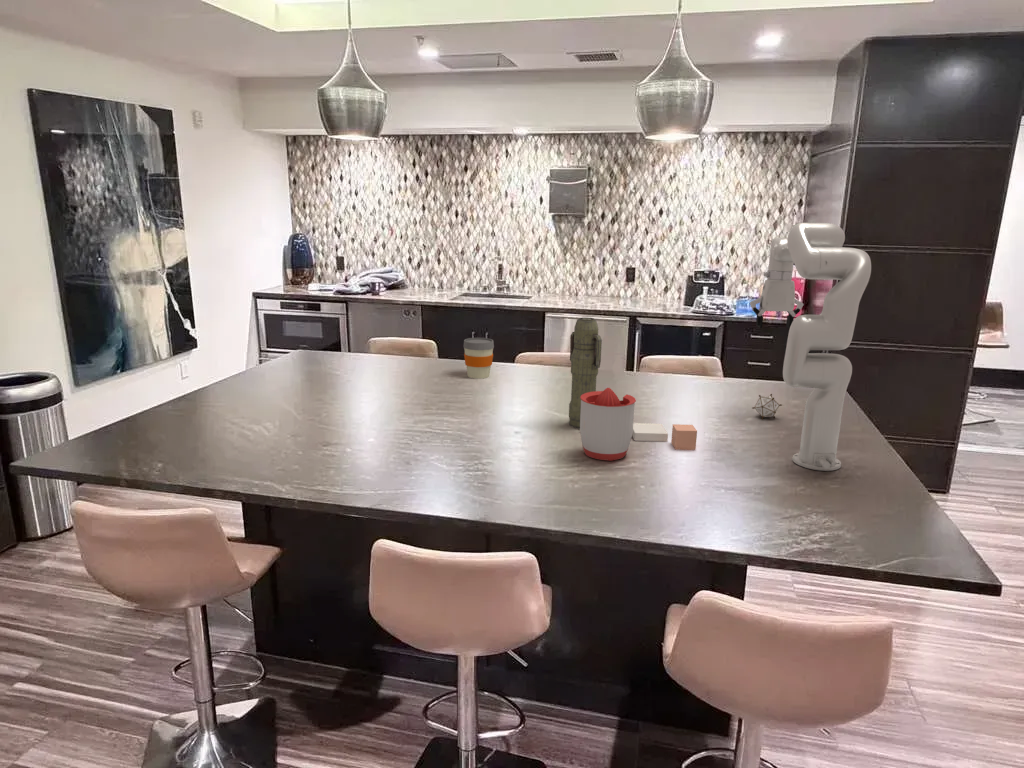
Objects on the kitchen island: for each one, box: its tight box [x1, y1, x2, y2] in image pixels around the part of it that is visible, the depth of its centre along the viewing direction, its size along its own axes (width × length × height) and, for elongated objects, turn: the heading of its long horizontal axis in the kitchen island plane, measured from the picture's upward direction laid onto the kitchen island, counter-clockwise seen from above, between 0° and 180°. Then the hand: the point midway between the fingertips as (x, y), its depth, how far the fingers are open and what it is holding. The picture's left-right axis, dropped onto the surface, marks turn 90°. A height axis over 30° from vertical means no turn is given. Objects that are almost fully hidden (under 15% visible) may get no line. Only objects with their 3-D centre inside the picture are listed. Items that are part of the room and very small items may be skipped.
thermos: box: [568, 317, 603, 430], centre depth 228 cm, size 9×12×35 cm
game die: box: [751, 393, 783, 420], centre depth 242 cm, size 9×8×10 cm
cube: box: [670, 423, 698, 451], centre depth 212 cm, size 6×6×6 cm
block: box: [632, 422, 669, 443], centre depth 222 cm, size 10×10×2 cm
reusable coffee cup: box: [463, 337, 495, 380], centre depth 292 cm, size 13×13×15 cm
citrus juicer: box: [579, 387, 637, 462], centre depth 203 cm, size 16×17×20 cm
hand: (774, 327), depth 236 cm, fingers open, 9 cm apart
